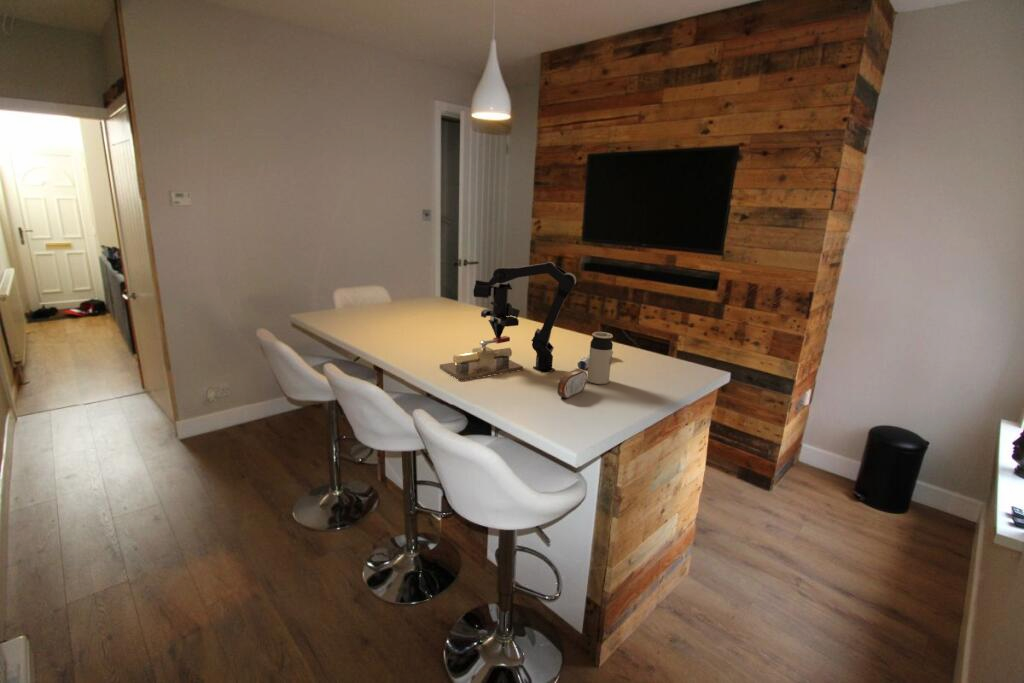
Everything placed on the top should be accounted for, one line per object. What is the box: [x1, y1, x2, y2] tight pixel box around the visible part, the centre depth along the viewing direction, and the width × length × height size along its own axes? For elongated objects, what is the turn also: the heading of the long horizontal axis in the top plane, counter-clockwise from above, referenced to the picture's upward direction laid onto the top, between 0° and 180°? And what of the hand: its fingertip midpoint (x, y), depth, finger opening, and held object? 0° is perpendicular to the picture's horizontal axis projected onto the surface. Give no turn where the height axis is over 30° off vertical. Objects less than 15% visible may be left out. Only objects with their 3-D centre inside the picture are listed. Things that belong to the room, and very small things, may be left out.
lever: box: [479, 335, 511, 346], centre depth 186 cm, size 14×3×2 cm, turn 133°
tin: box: [557, 368, 588, 399], centre depth 164 cm, size 15×3×8 cm, turn 141°
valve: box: [439, 345, 524, 382], centre depth 185 cm, size 16×28×10 cm, turn 124°
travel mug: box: [586, 331, 614, 385], centre depth 177 cm, size 8×8×18 cm
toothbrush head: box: [577, 350, 614, 371], centre depth 202 cm, size 5×7×25 cm
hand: (498, 338), depth 190 cm, fingers closed
